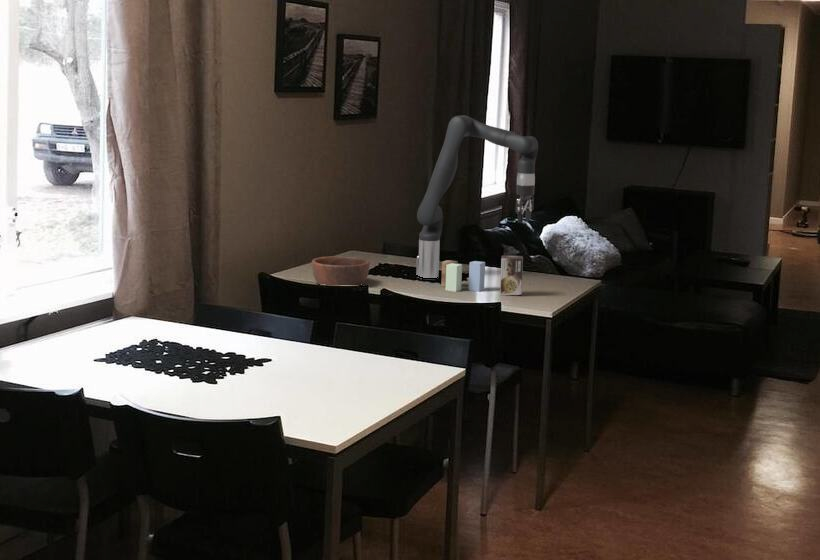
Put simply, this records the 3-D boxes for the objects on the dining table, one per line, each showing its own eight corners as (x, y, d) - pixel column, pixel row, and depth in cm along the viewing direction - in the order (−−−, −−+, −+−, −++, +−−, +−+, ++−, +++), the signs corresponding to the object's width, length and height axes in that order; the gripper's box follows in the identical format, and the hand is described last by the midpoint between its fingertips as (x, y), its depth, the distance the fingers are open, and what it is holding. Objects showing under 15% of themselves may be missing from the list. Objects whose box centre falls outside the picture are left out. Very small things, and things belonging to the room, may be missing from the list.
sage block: (445, 290, 466) (446, 264, 464) (450, 288, 470) (451, 263, 468) (455, 291, 463) (456, 266, 461) (461, 289, 468) (462, 264, 466)
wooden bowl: (379, 282, 480) (379, 259, 478) (352, 292, 457) (352, 267, 455) (329, 276, 490) (329, 254, 488) (300, 285, 467) (300, 262, 466)
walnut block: (441, 286, 473) (442, 261, 471) (446, 285, 478) (447, 260, 476) (451, 288, 471) (452, 262, 469) (456, 286, 475) (457, 261, 473)
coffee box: (521, 293, 463) (523, 255, 460) (521, 296, 457) (523, 258, 454) (500, 292, 464) (501, 254, 461) (499, 295, 458) (501, 257, 455)
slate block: (468, 290, 467) (469, 262, 465) (473, 288, 472) (474, 260, 469) (479, 291, 465) (480, 263, 463) (484, 289, 469) (485, 262, 467)
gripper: (523, 182, 472) (522, 219, 475) (510, 184, 460) (509, 222, 463) (540, 183, 469) (538, 220, 472) (527, 185, 456) (525, 224, 459)
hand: (523, 221), depth 467 cm, fingers open, 8 cm apart
